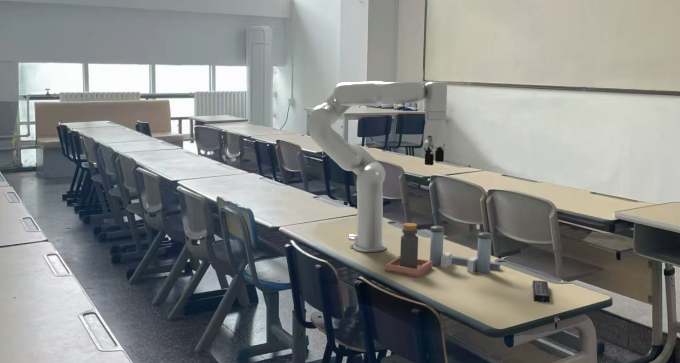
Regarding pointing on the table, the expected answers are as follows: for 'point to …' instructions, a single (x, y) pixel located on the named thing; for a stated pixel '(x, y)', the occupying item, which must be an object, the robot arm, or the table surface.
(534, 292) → the multiport hub
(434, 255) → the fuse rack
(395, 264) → the tray
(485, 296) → the table surface
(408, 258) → the bottle
